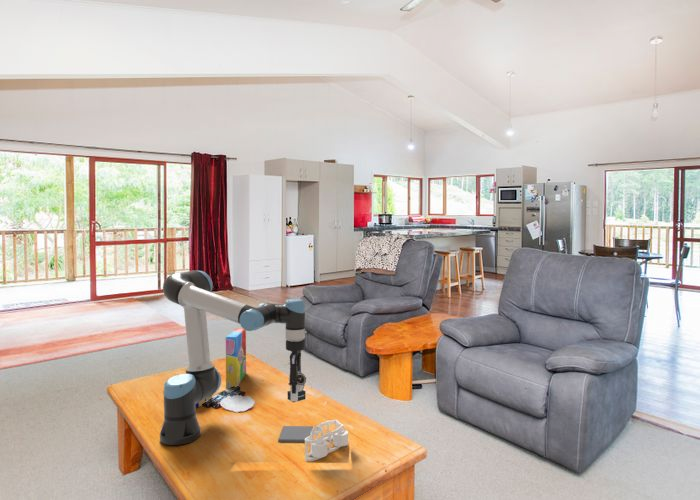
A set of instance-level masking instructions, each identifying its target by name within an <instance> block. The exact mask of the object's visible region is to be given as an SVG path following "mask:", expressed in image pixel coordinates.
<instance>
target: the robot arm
mask: <svg viewBox="0 0 700 500" xmlns="http://www.w3.org/2000/svg"><path fill="white" fill-rule="evenodd" d="M212 291H213V281H212V278H211V277H210V275H209V274H207V273H206V272H205V271H203V270H188V271H182V272H175V273H173V274H170V275H169V276H167V277H166V278H165V280H164V282H163V284H162V292H163V295H164V296H165V298H166V299H167V300H169V301H170V302H171V303H174V304H175V305H180V307H182V308H183V313H184V323H185V334H186V344H187V357H188V365H187V366H186V368H185V373H180V374H176V375H173V376H171V377H169V378H168V379H167V380H166V381H165V383H164V384H163V412H164V419H163V423H162V426H161V429H160V432H159V442H160V443H162V444H164V445H169V446H179V445H185V444H188V443H191V442H194V441H195V440H198V439H199V438H200V436H201V433H202V432H201V426H200V424H199V420H198V417H197V414H196V413H197V412H196V411H197V410H196V408H197V407H196V405H195V404H197V403H198V402H200V401H202V400H204V399H206V398H208V397H210V396H212V397H213V395H214V394H216V393H217V391H219V390H220V387H221V384H222V376H221V373H220V371H218V369H217V368H215V364H214V363H213V362H212V361H211V354H210V344H209V343H210V341H209V334H208V332H209V331H208V321H207V320H208V319H207V313H209V314H212V315H215V316H218V317H221V318H222V319H225V320H229V321H230V322H233V323H236V324H238V325H240V326H241V329H244V330H246V332H252V331H256V330H259V329H261V328H264V327H266V326H269V325H272V324H285V350H286V351H289V352H291V353H290V354H289V376H290V382H288V386H290V385H291V386H290V391H291V401H290V402H292V401H297V402H299V401H298V384H297V377H298V371H300V372H301V373H302V365H301V364H302V362H301V361H302V360H301V359H302V353H301V352H302V351H304V350H305V349H306V339H305V338H306V334H307V330H306V304H305V303H306V302H305V301H304V300H303V299H301V298H290V299H287V300H285V303H271V302H263V303H259V304H258V306H257V307H254V306H251V305H248V304H247V303H243V302H240V301H238V300H235V299H231V298H229V297H226V296H224V295H220V294H218V293H215V292H212ZM292 381H294V382H292Z"/></svg>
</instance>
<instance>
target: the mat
mask: <svg viewBox="0 0 700 500" xmlns="http://www.w3.org/2000/svg"><path fill="white" fill-rule="evenodd" d="M312 428H314V426H313V425H283V426H282V428H281V431H280V434H279V437H278V439H277V442H278V443H305V438H306V437H308V436H310V432H311V431H312Z"/></svg>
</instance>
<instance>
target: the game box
mask: <svg viewBox="0 0 700 500" xmlns="http://www.w3.org/2000/svg"><path fill="white" fill-rule="evenodd" d="M246 332H247V331H246V330H244V329H243V328H235V329H234V330H233V331H231V332H230V333H229V334H228V335H226V336H225V389H232V388H231V387H233V386H239V385H240V384H241V381H242V380H244V377H245V375H246V374H247V337H246V336H247V333H246Z"/></svg>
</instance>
